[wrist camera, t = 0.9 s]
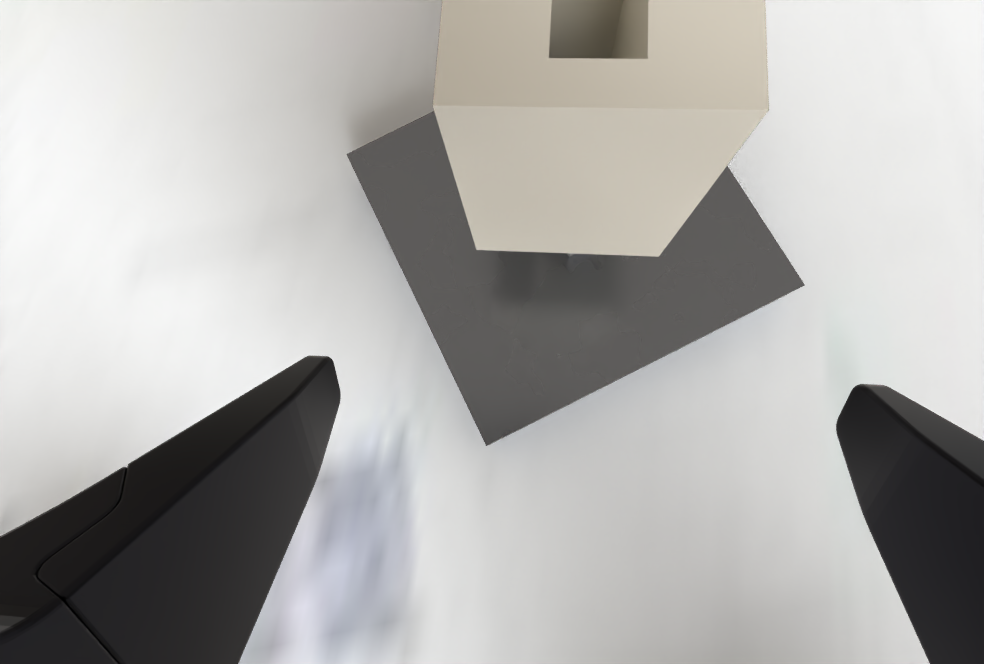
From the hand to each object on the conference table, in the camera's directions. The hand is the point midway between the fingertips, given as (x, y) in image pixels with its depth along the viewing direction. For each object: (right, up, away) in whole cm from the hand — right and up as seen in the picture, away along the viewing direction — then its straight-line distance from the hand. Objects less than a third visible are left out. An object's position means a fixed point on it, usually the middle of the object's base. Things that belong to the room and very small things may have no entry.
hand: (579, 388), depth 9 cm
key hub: (+1, +5, +14) cm, 16 cm away
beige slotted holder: (+1, +7, +9) cm, 11 cm away
